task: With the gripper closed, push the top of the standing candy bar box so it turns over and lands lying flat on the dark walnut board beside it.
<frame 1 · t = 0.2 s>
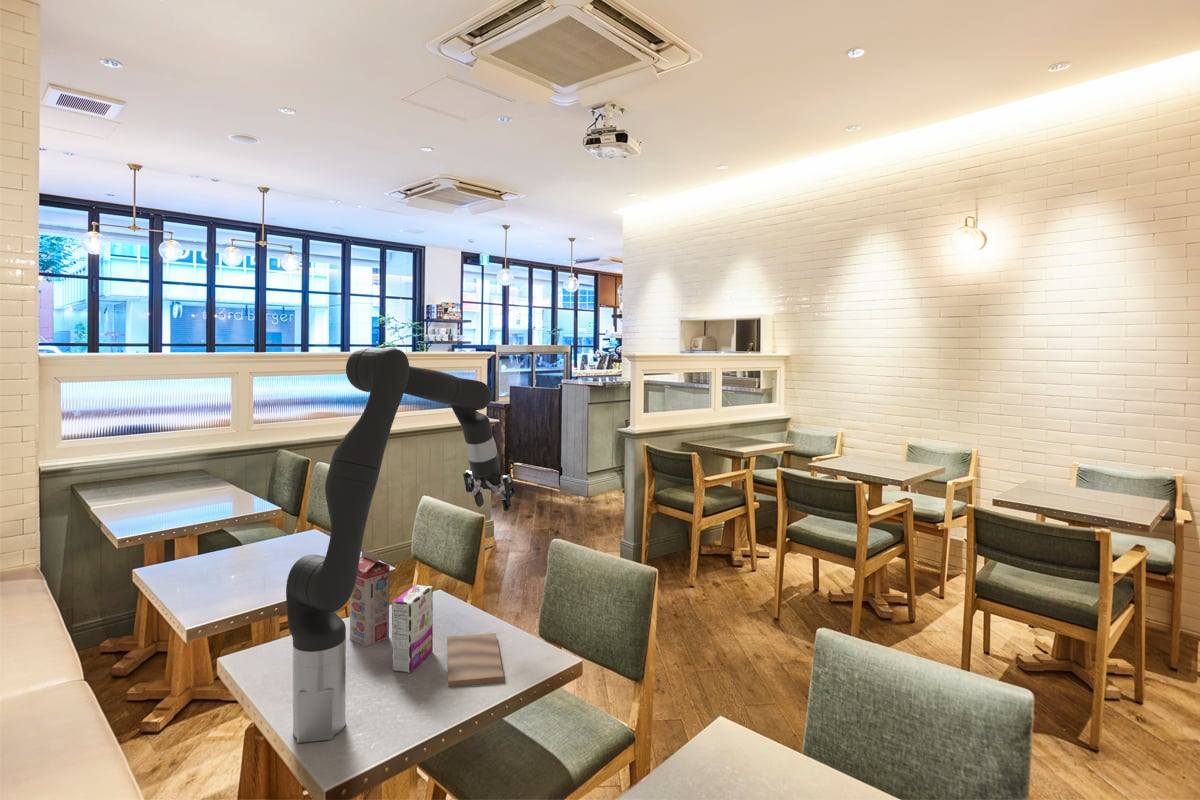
hand: (494, 507, 171), 31 cm above the table, tool tilted 20°, fingers open, 8 cm apart
juice carton: (369, 639, 161), on the table
candy bar box: (412, 662, 150), on the table
walnut board: (473, 660, 151), on the table
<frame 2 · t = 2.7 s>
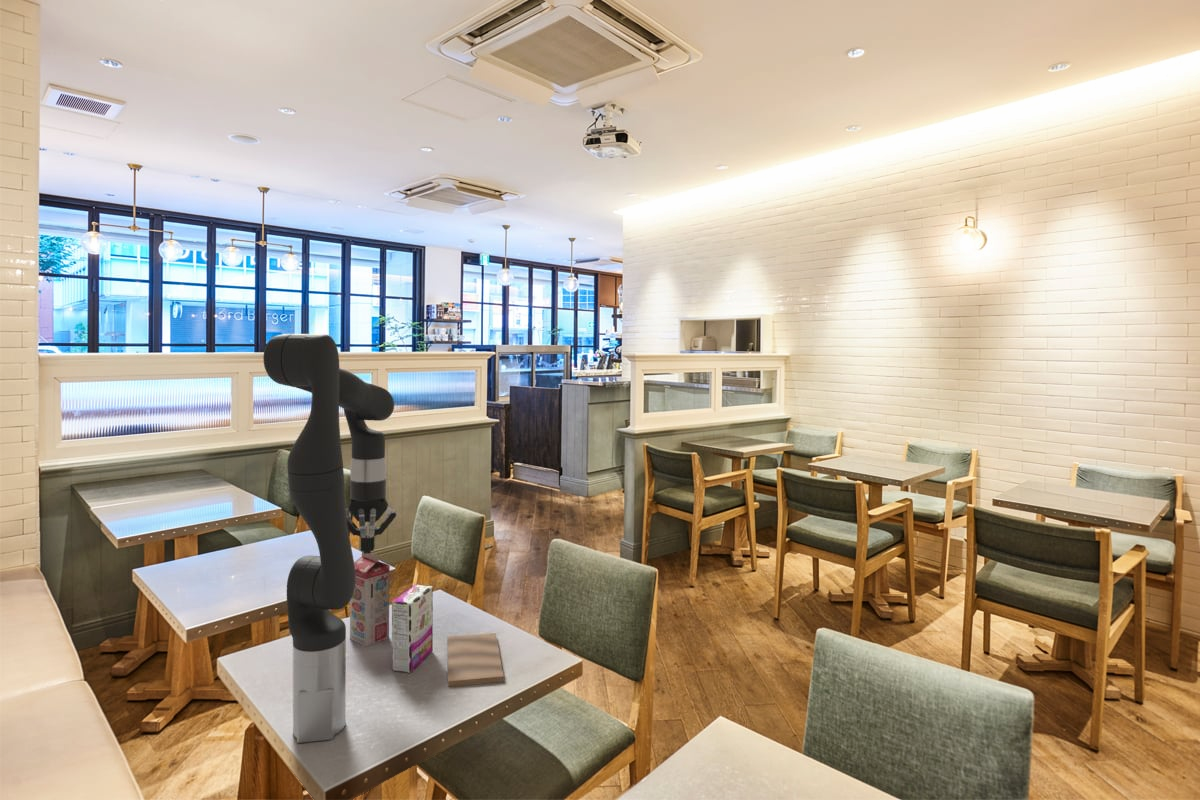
hand: (367, 552, 145), 26 cm above the table, tool pointing down, fingers closed
nothing on the table moved.
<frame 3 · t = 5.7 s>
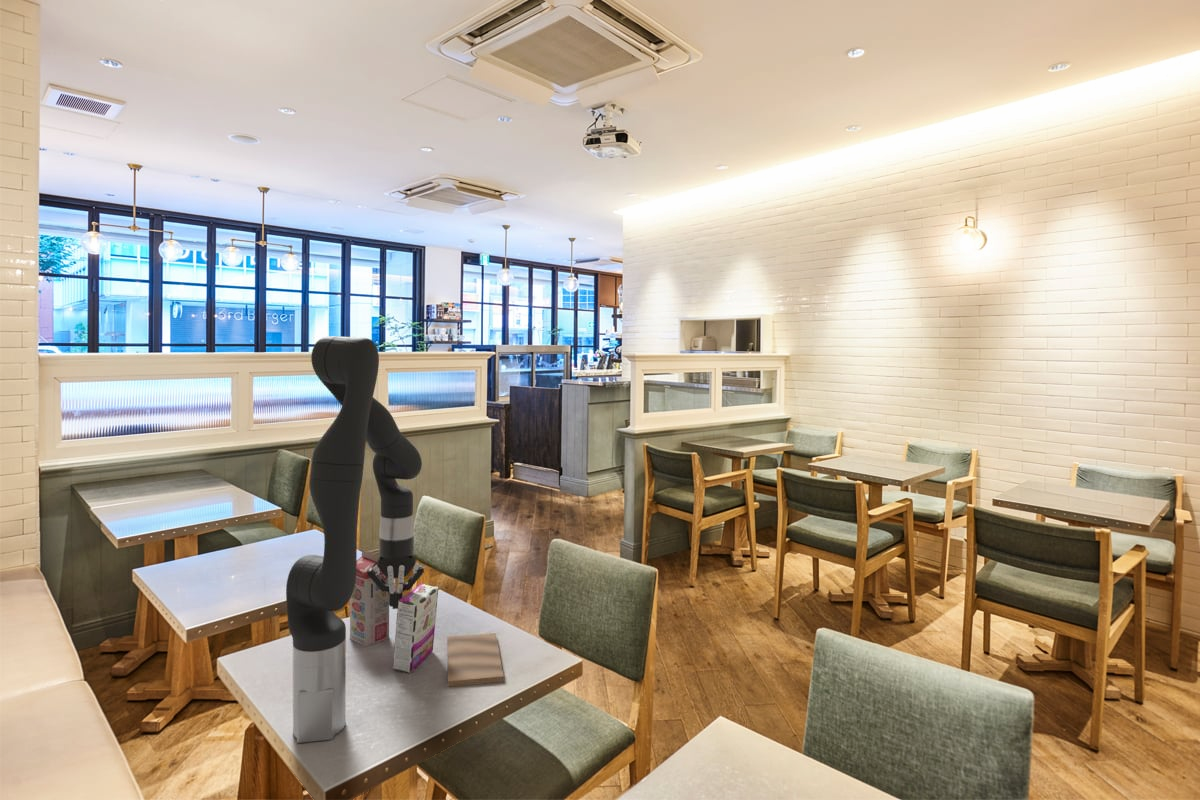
hand: (396, 607, 148), 13 cm above the table, tool pointing down, fingers closed
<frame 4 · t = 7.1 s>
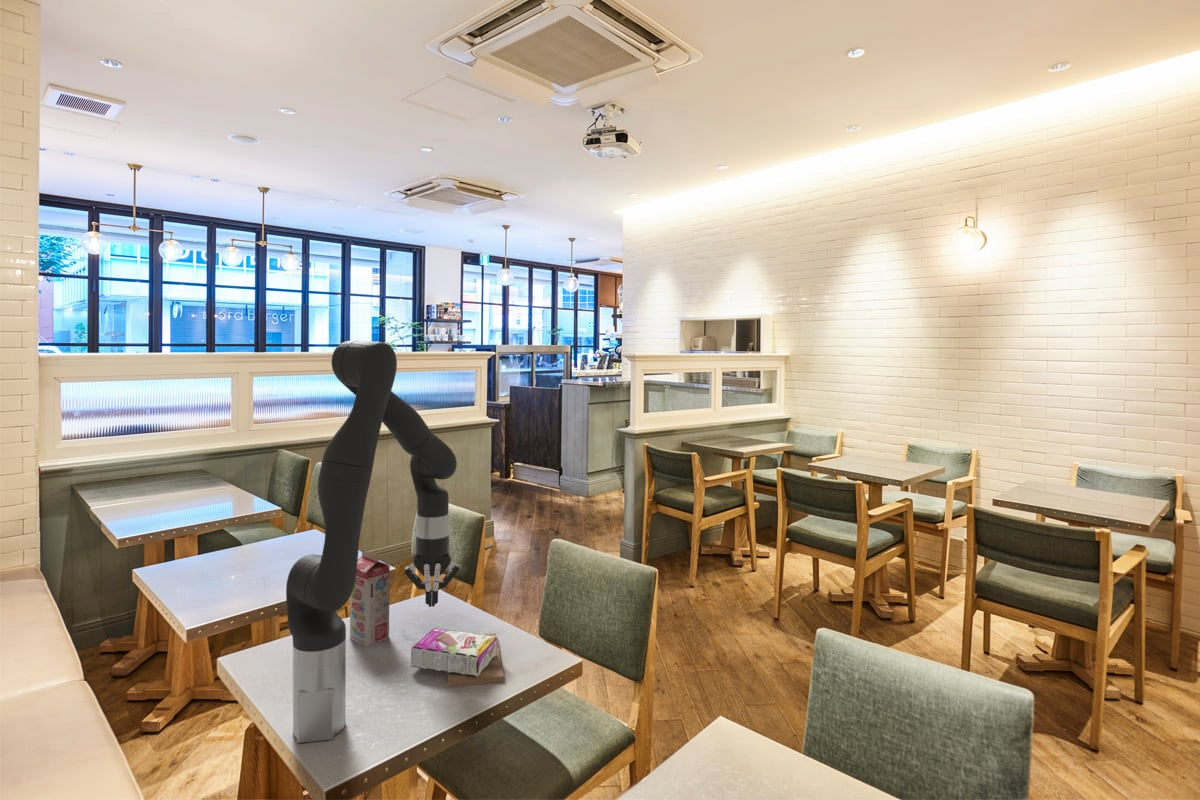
hand: (431, 605, 150), 13 cm above the table, tool pointing down, fingers closed
candy bar box: (421, 646, 149), point 4 cm above the table, touching walnut board
everything else where it was.
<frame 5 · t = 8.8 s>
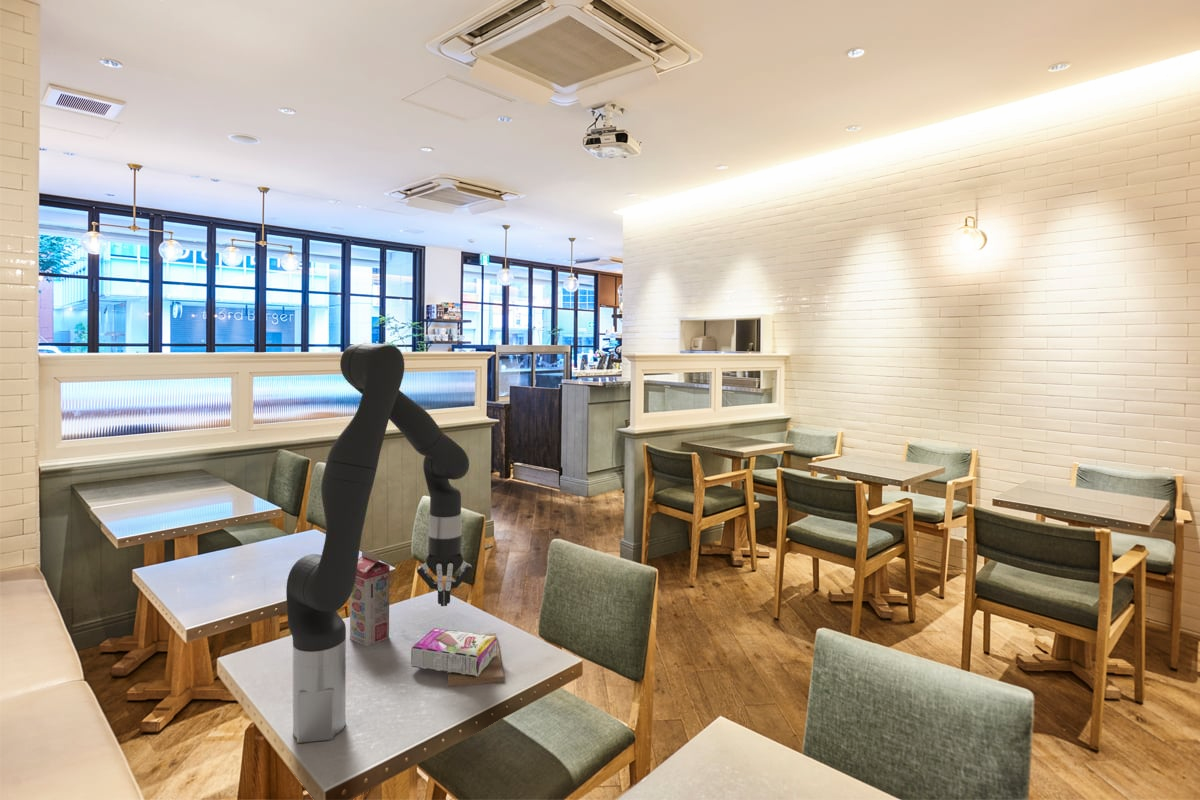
hand: (444, 604, 150), 13 cm above the table, tool pointing down, fingers closed
nothing on the table moved.
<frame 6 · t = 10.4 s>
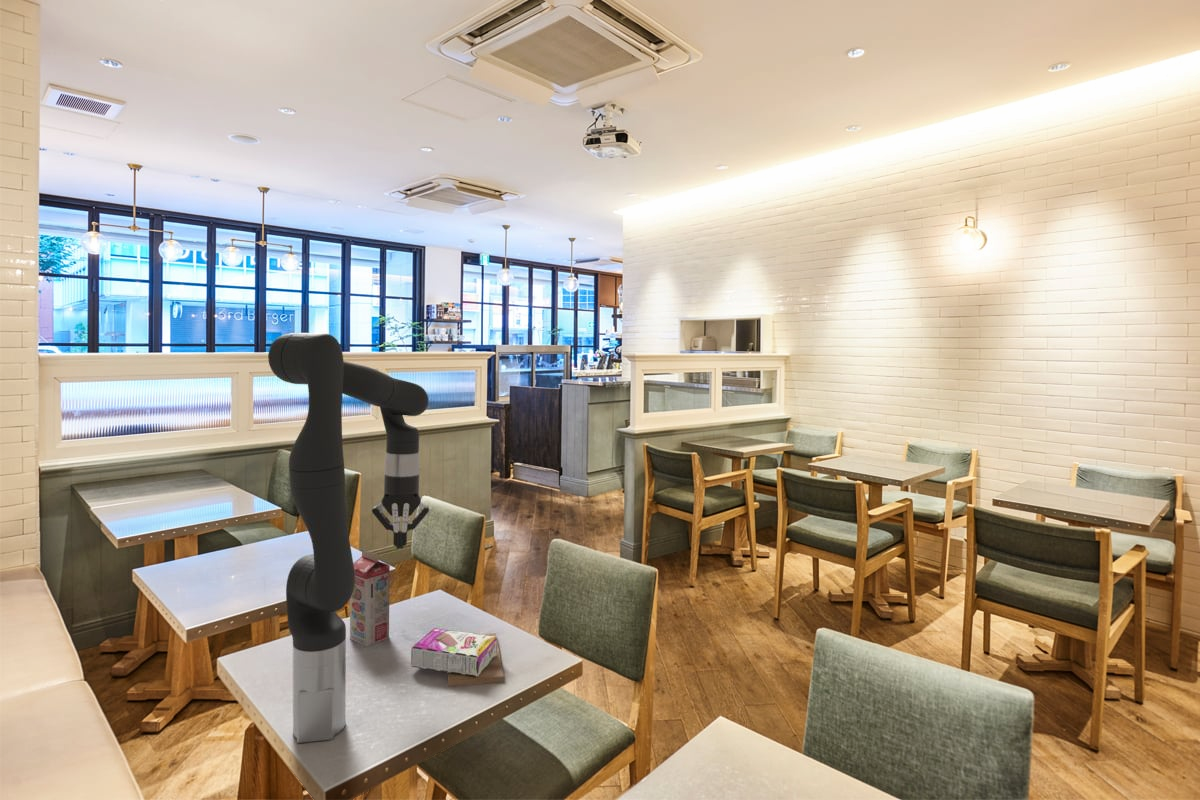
hand: (400, 547, 146), 28 cm above the table, tool pointing down, fingers closed
nothing on the table moved.
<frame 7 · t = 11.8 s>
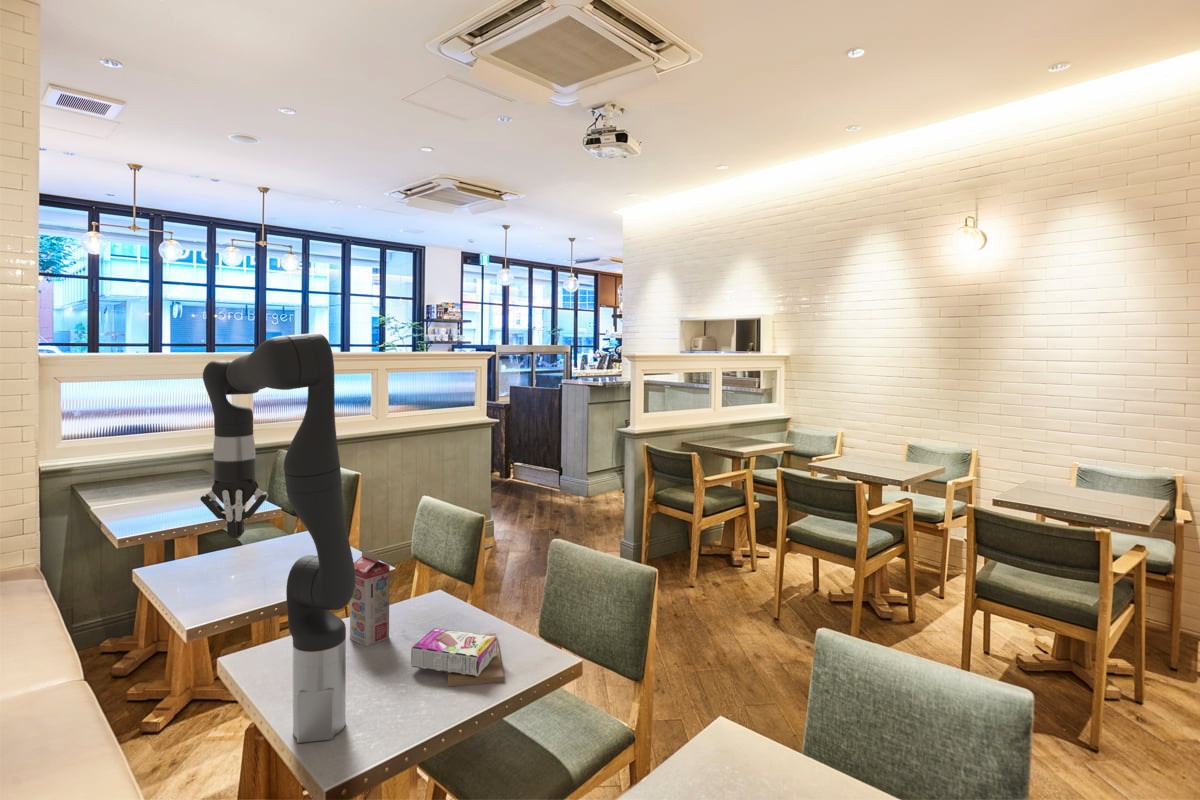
hand: (236, 537, 135), 32 cm above the table, tool pointing down, fingers closed
nothing on the table moved.
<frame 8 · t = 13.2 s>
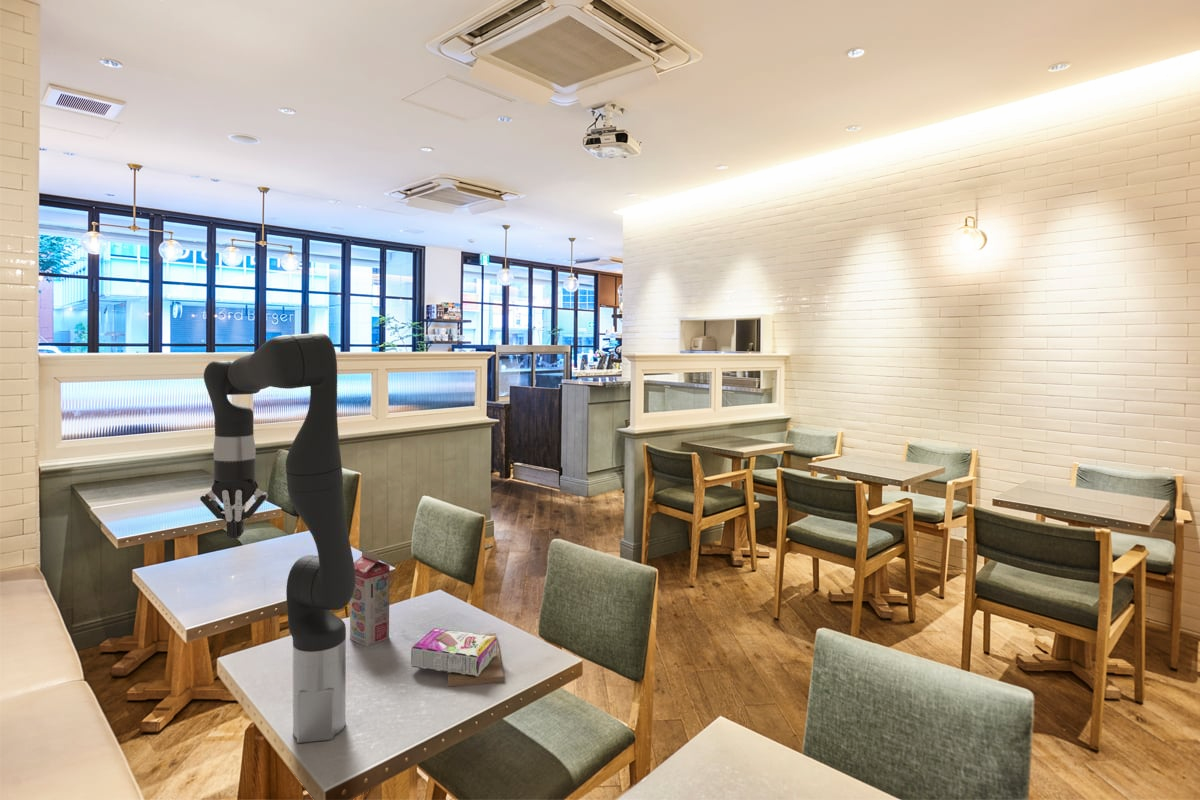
hand: (235, 537, 135), 32 cm above the table, tool pointing down, fingers closed
nothing on the table moved.
at the end: candy bar box tilted 90°; candy bar box touching walnut board; the gripper is holding nothing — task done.
